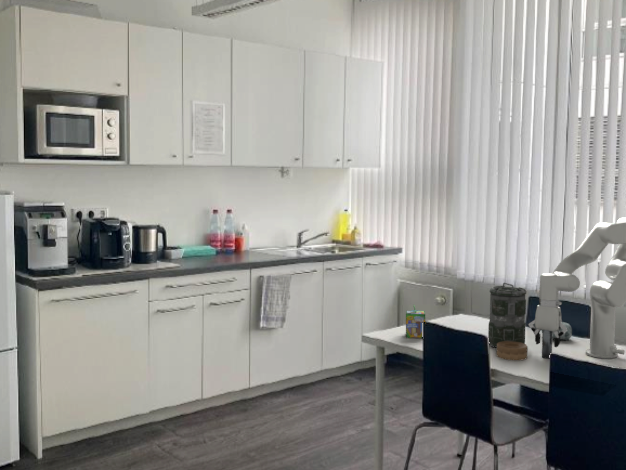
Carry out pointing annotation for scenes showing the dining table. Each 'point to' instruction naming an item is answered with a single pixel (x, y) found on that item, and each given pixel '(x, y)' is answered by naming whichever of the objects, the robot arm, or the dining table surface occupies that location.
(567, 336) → the grey-green rounded cylinder
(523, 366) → the dining table surface
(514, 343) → the brown round short cylinder
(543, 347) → the pin
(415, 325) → the chalk box
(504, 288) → the canister
